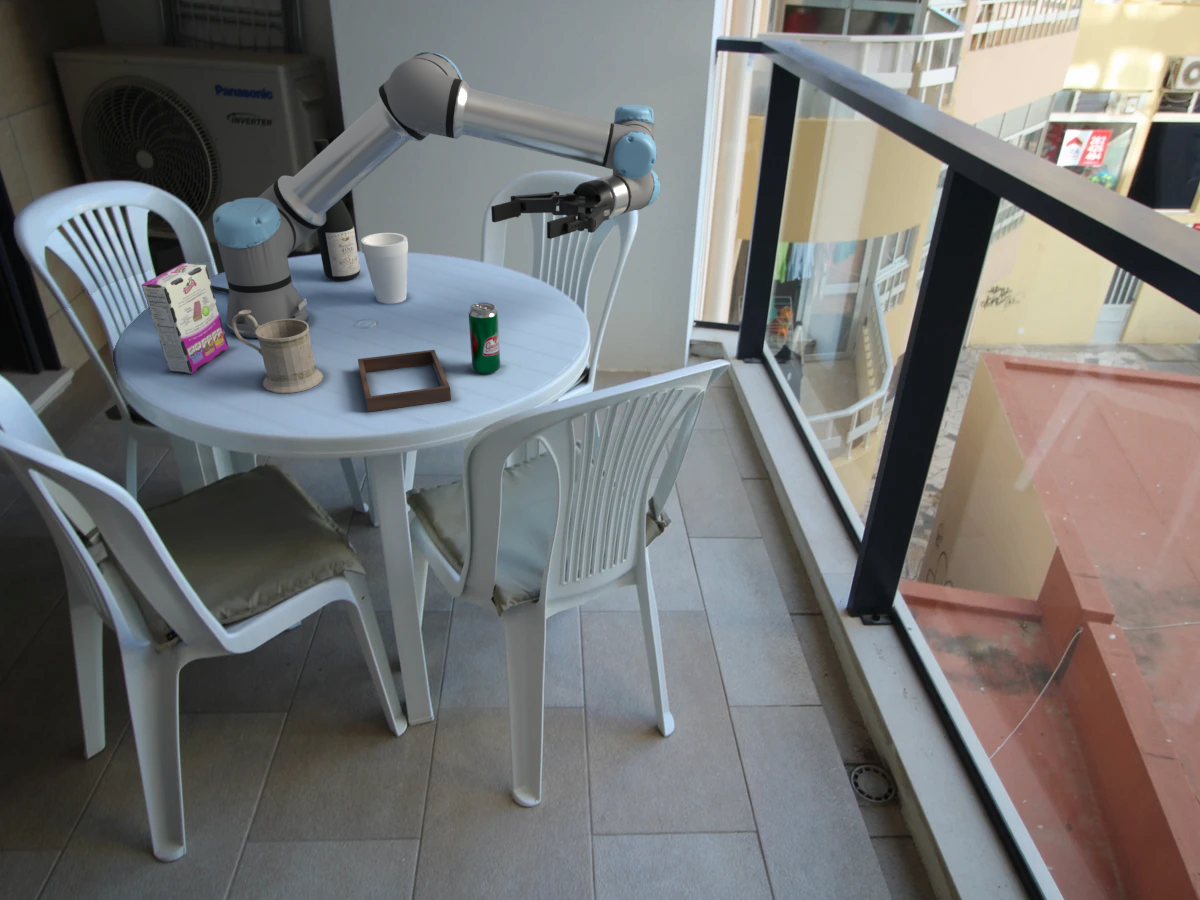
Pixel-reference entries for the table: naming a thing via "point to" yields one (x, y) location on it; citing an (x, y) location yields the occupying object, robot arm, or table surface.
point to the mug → (284, 354)
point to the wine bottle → (337, 238)
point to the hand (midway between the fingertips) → (519, 222)
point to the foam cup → (387, 265)
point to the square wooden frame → (408, 396)
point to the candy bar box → (186, 317)
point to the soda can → (484, 338)
